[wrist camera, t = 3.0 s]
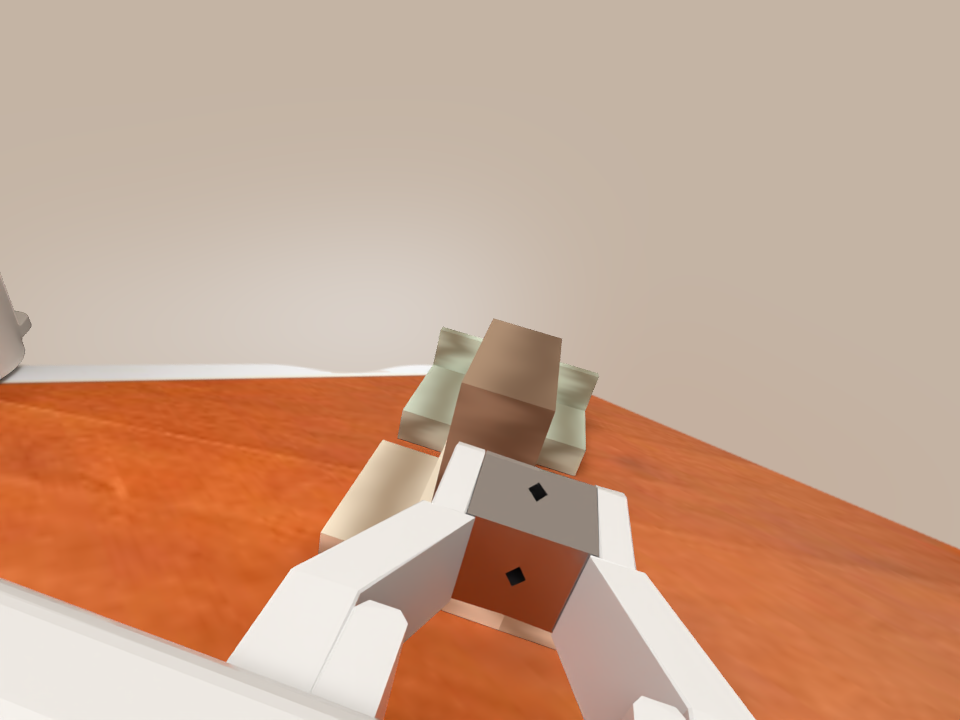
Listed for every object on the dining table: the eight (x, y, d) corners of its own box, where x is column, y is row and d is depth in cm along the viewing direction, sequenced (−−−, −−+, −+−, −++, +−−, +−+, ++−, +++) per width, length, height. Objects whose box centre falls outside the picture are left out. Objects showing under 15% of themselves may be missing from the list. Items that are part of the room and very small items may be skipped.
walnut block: (417, 557, 27) (461, 382, 21) (454, 463, 35) (493, 318, 29) (491, 582, 26) (555, 411, 21) (512, 481, 34) (561, 338, 29)
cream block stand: (316, 567, 28) (326, 480, 25) (430, 385, 50) (442, 326, 46) (572, 655, 27) (615, 576, 24) (575, 430, 48) (598, 373, 45)
